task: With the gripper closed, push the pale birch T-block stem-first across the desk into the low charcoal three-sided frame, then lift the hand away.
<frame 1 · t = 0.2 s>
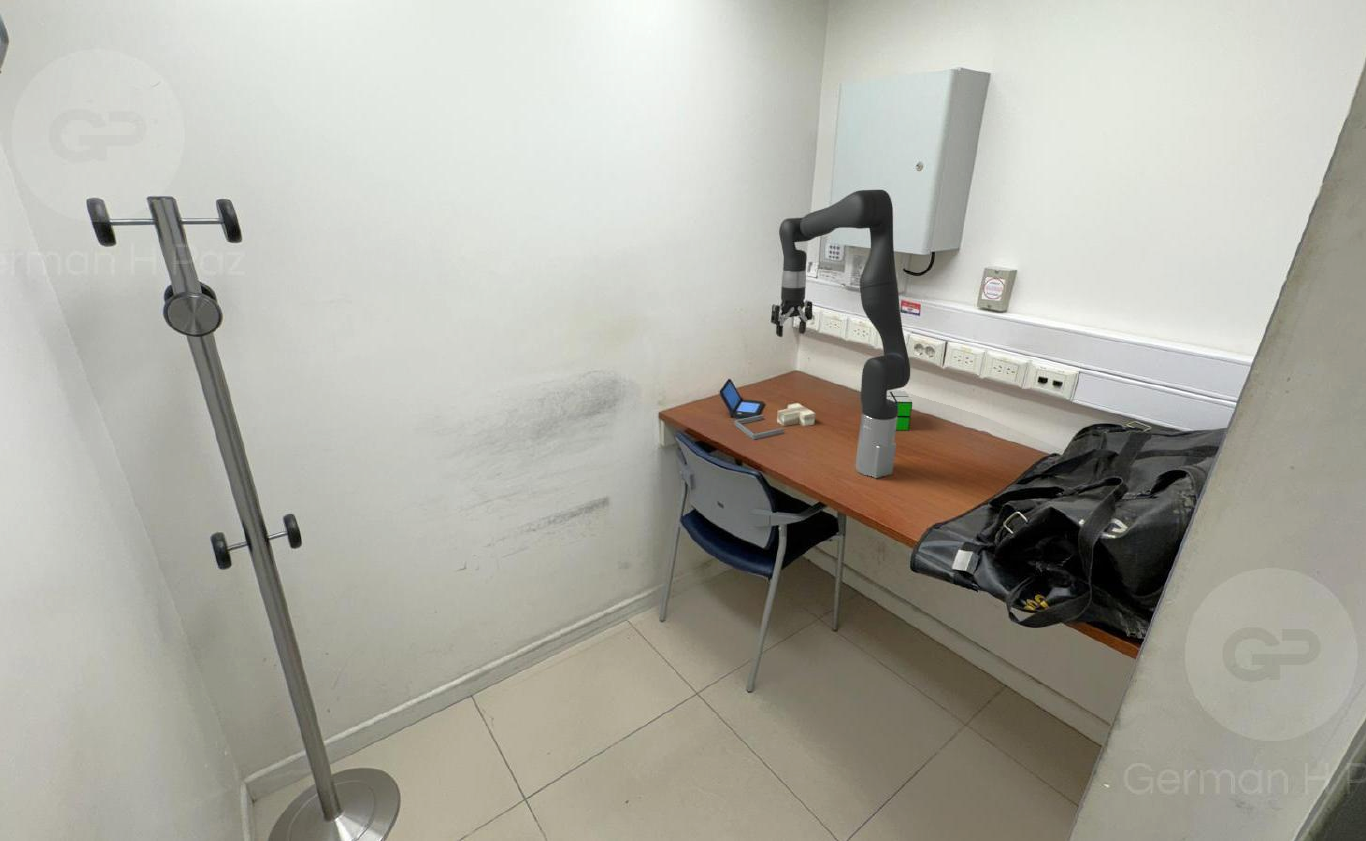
hand: (790, 334, 190), 28 cm above the table, tool pointing down, fingers open, 8 cm apart
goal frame: (758, 428, 191), on the table
handheld game console: (741, 411, 206), on the table
puzzle cube: (889, 424, 192), on the table
t block: (792, 421, 196), on the table
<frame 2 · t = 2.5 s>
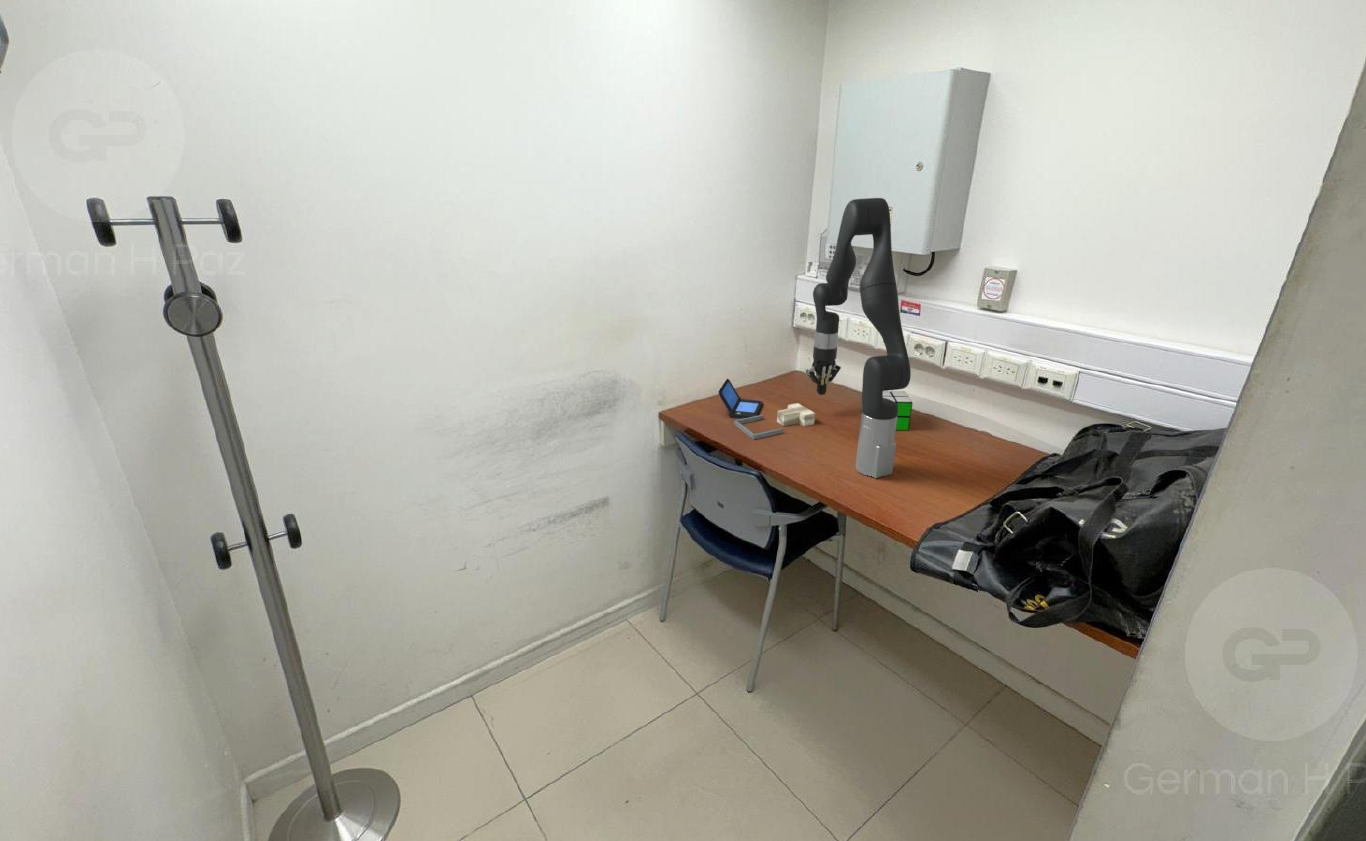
hand: (821, 394, 197), 8 cm above the table, tool pointing down, fingers closed
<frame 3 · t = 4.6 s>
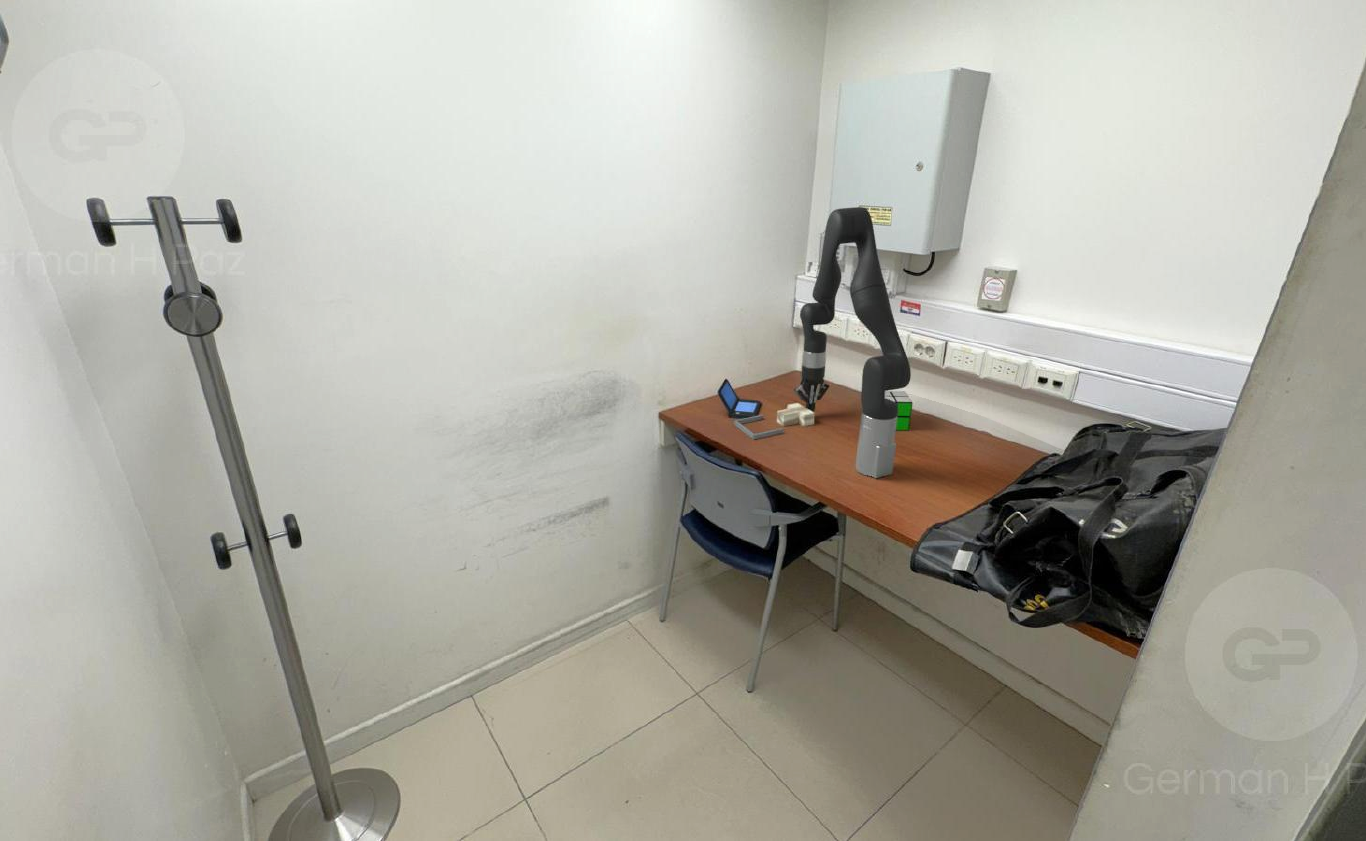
hand: (810, 412, 197), 2 cm above the table, tool pointing down, fingers closed
t block: (792, 421, 195), on the table, touching gripper
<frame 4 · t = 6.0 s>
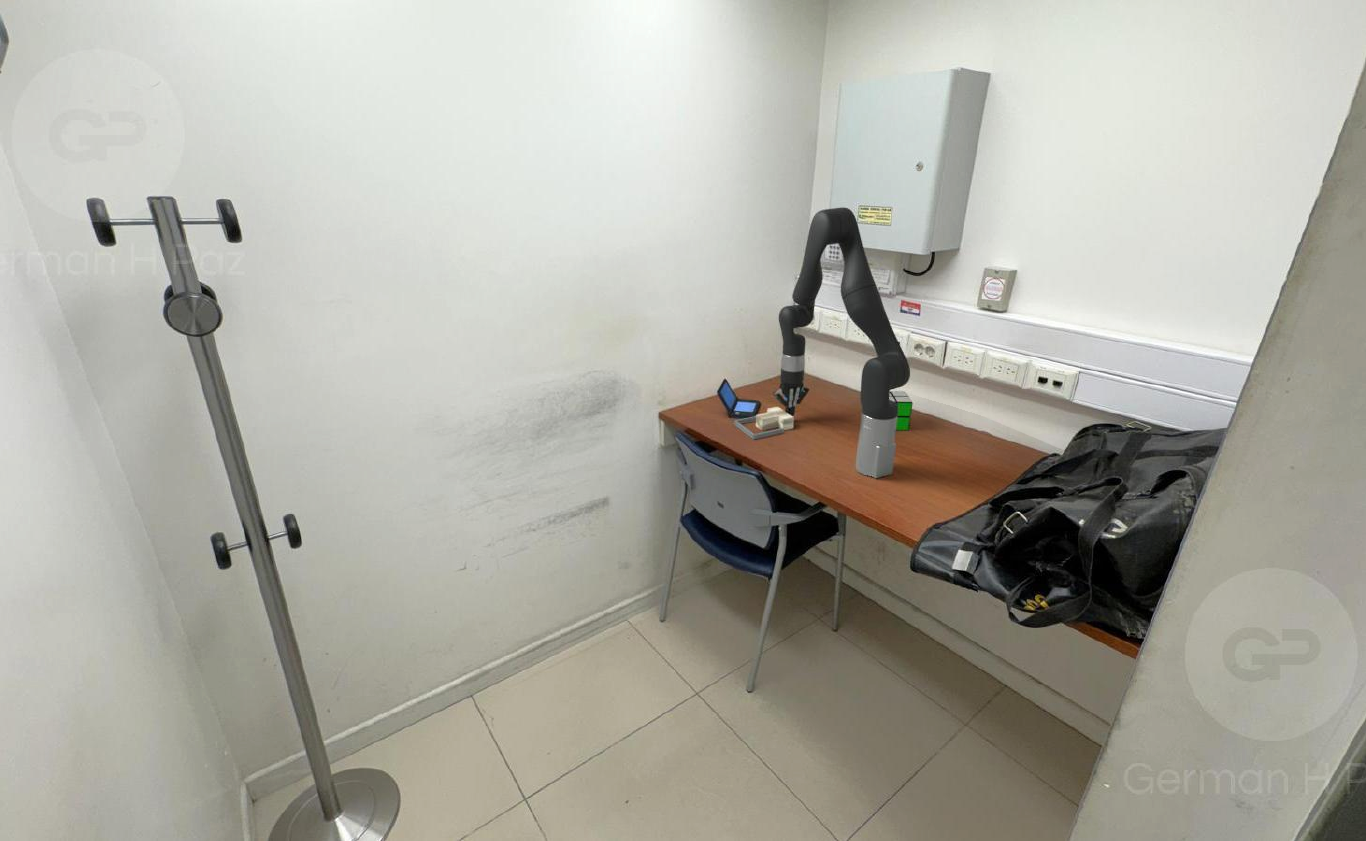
hand: (789, 416, 194), 2 cm above the table, tool pointing down, fingers closed
t block: (771, 425, 193), on the table, touching gripper
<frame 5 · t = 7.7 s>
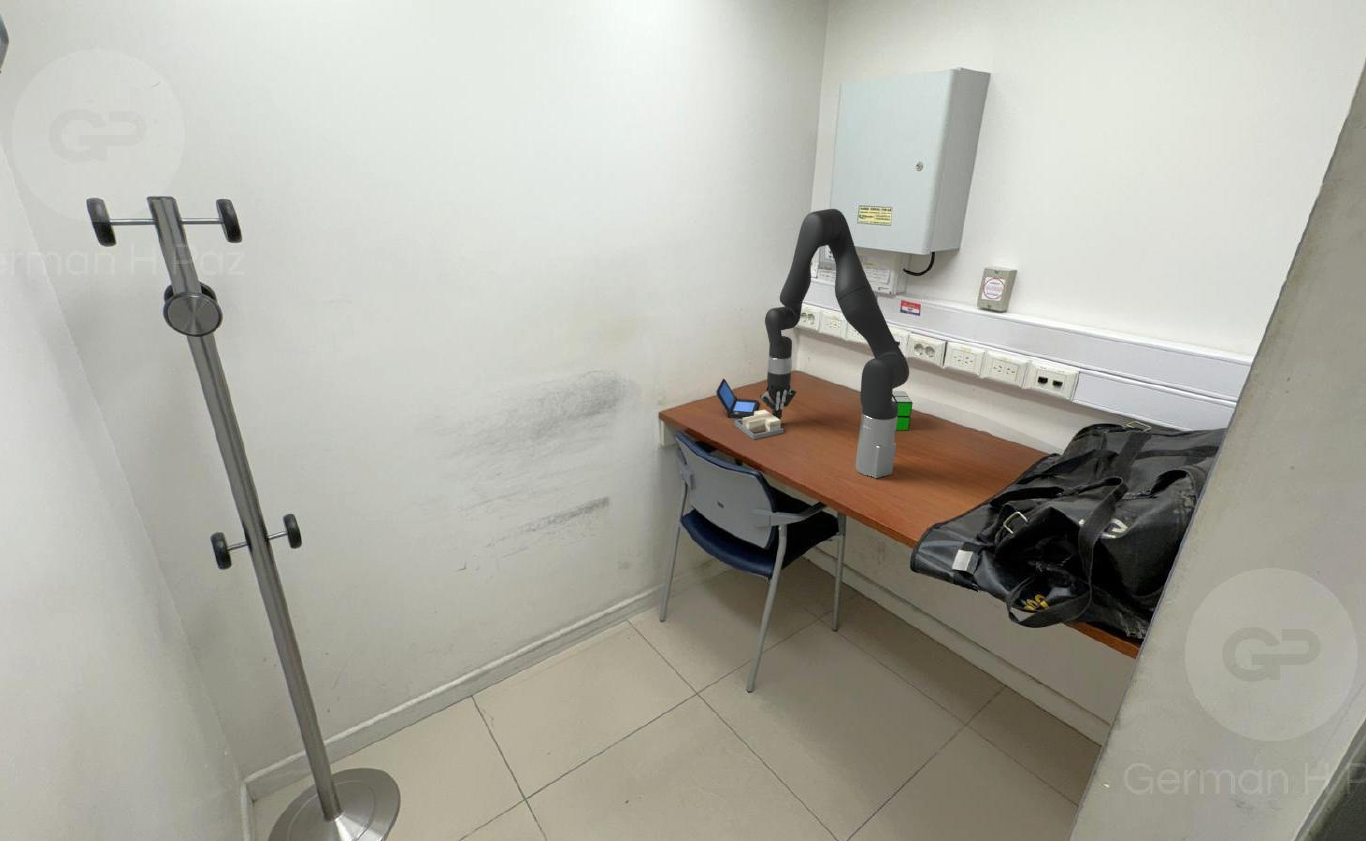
hand: (776, 419, 192), 2 cm above the table, tool pointing down, fingers closed
t block: (758, 428, 191), on the table, touching gripper
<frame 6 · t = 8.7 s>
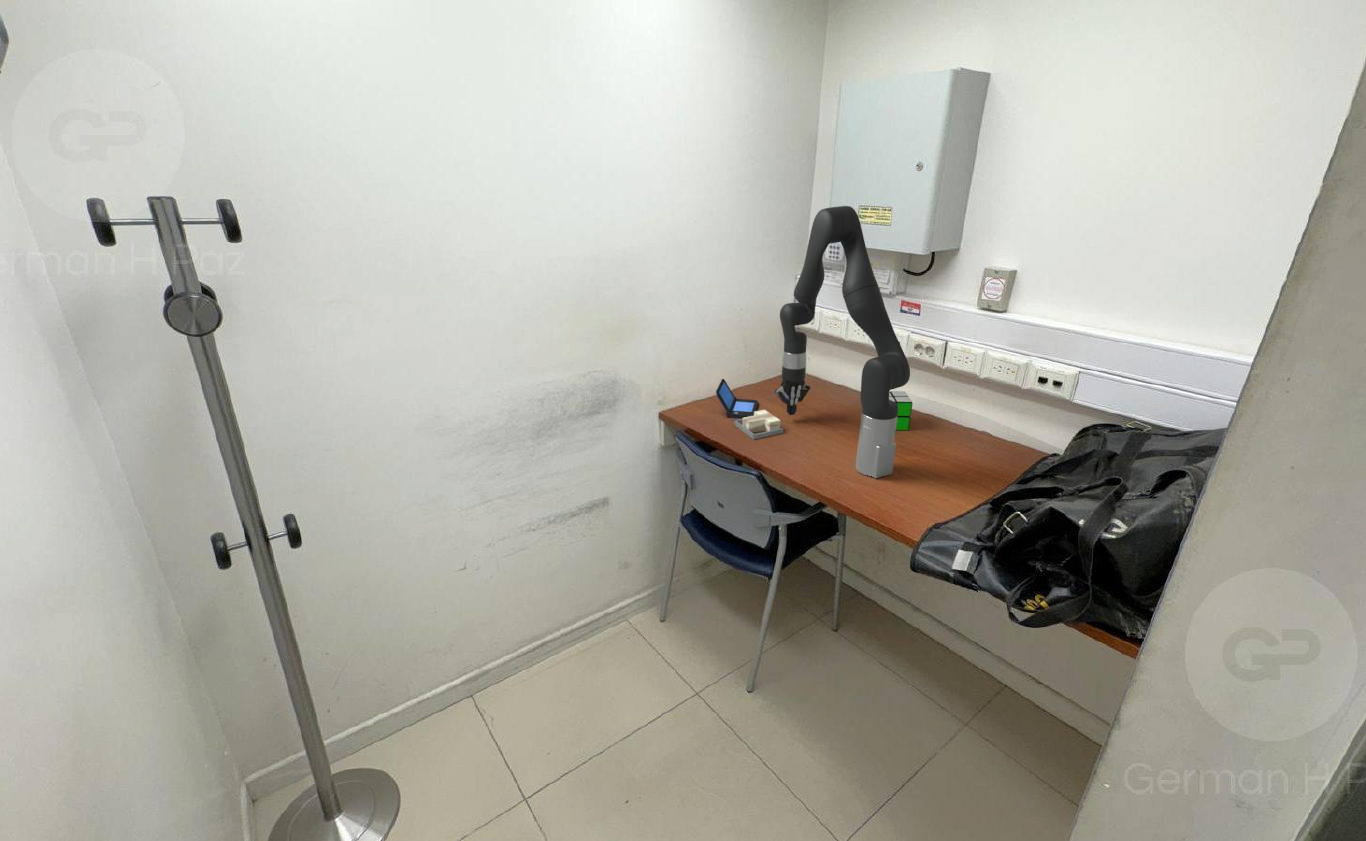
hand: (791, 414, 194), 3 cm above the table, tool pointing down, fingers closed
t block: (758, 428, 191), on the table
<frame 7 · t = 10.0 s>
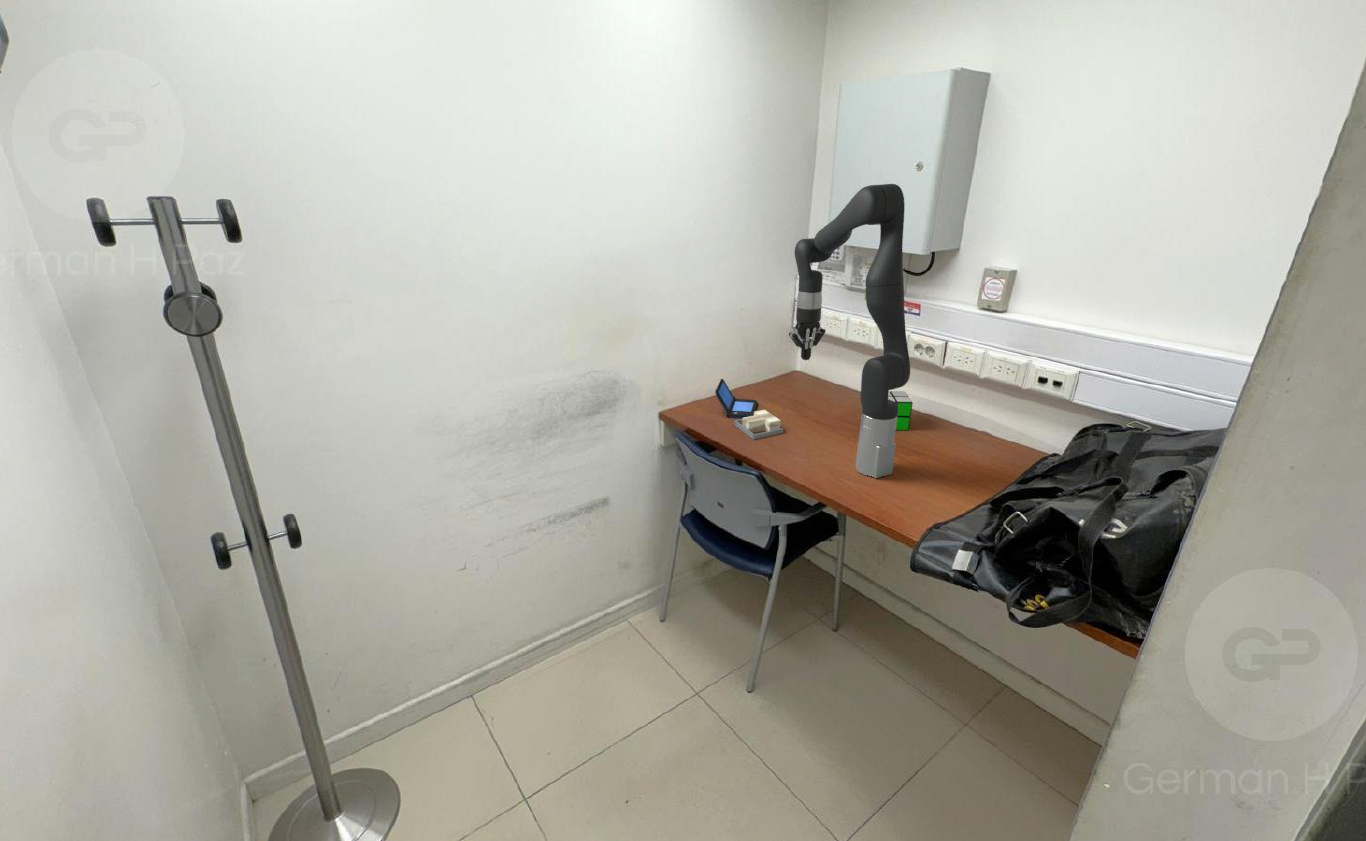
hand: (805, 359, 187), 22 cm above the table, tool pointing down, fingers closed
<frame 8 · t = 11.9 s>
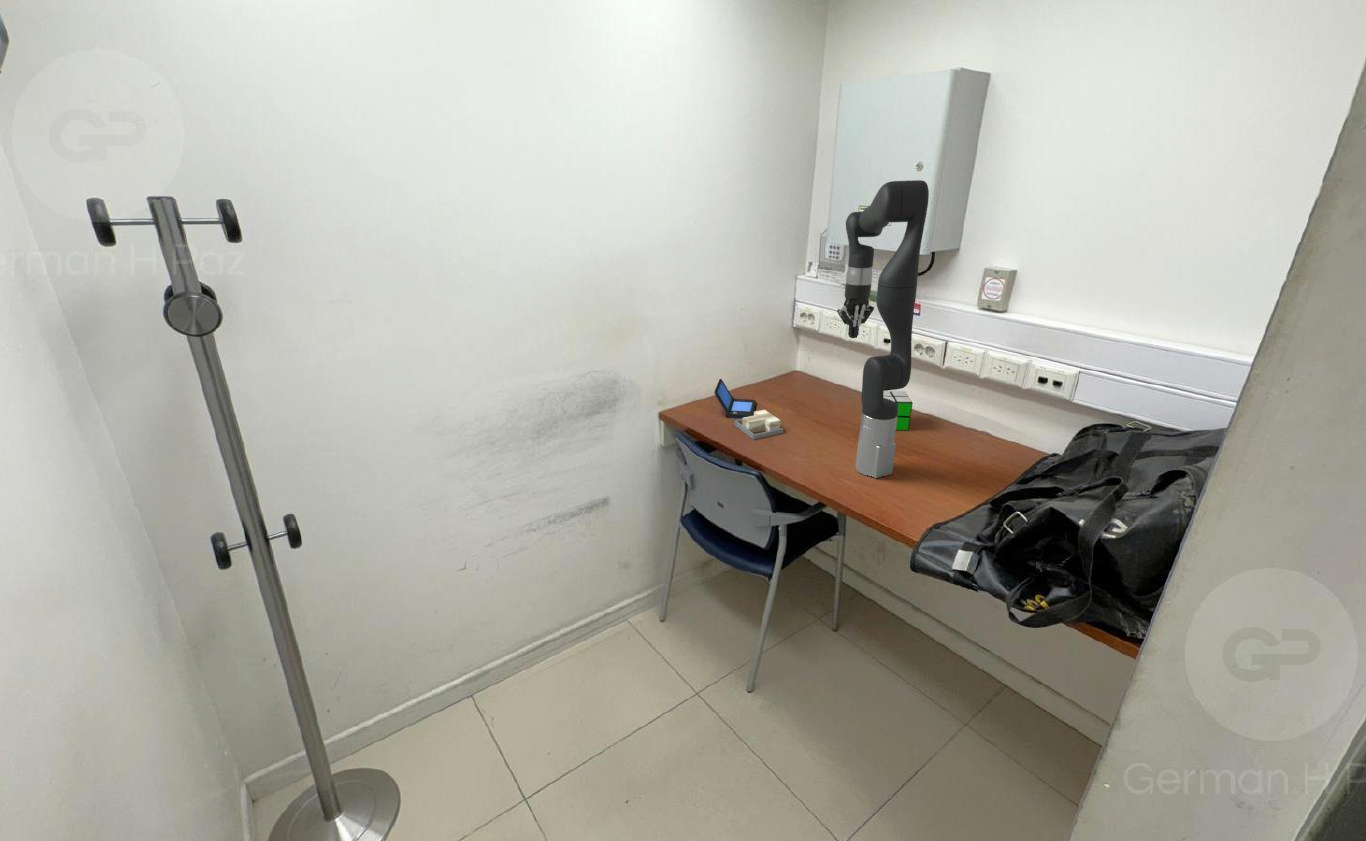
hand: (852, 337, 183), 29 cm above the table, tool pointing down, fingers closed
at the end: t block 0.1 cm from the target spot, on the table; t block tilted 1° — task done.
